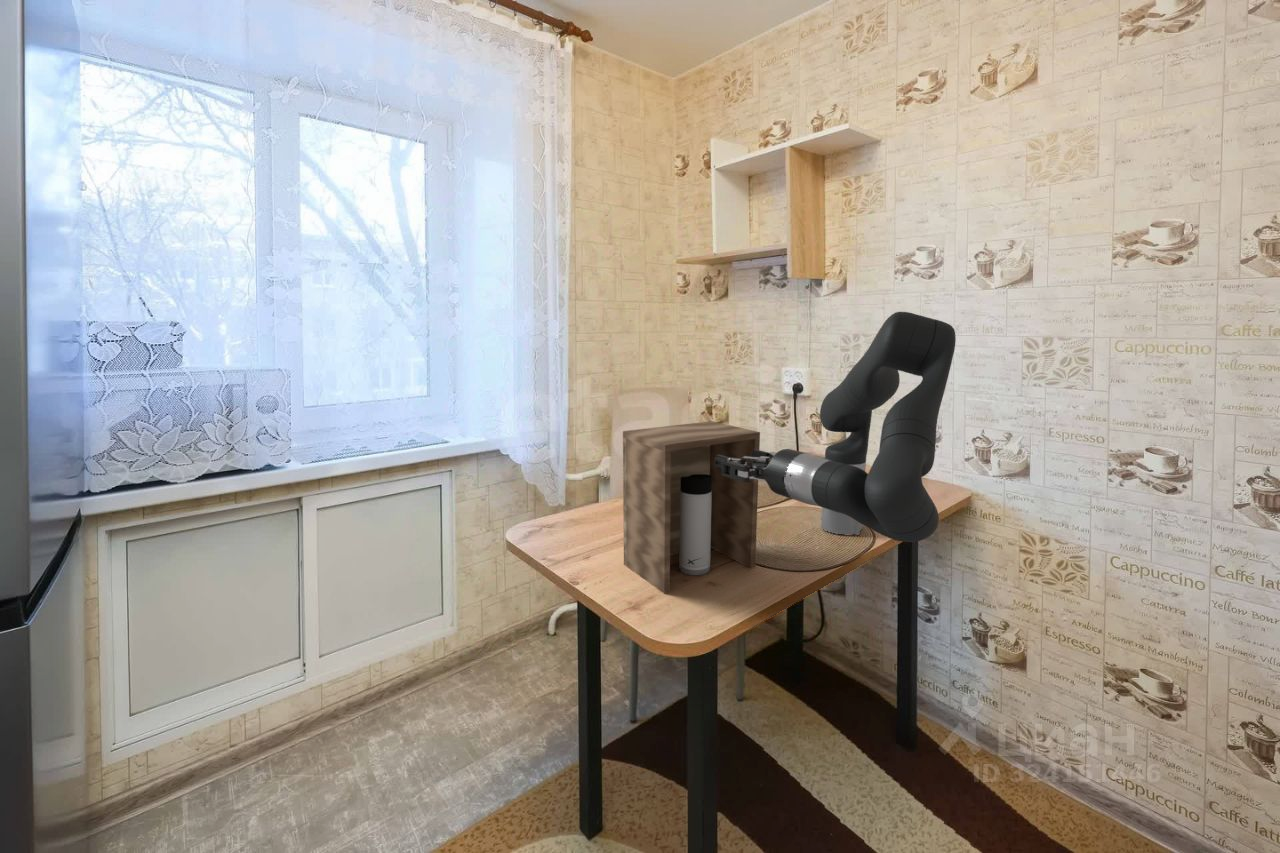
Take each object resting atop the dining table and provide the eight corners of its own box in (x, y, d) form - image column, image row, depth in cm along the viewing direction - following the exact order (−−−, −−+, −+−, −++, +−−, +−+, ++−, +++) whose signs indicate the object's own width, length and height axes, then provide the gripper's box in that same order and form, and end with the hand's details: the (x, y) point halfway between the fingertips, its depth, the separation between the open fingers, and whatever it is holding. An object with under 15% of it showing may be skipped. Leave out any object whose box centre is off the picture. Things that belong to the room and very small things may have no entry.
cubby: (755, 566, 116) (760, 432, 111) (664, 593, 104) (665, 444, 99) (709, 542, 128) (711, 421, 123) (623, 564, 117) (622, 431, 112)
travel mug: (694, 579, 110) (696, 480, 106) (672, 567, 115) (673, 473, 112) (717, 571, 114) (719, 475, 110) (695, 560, 119) (697, 468, 115)
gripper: (836, 448, 90) (765, 433, 103) (771, 459, 83) (703, 441, 96) (834, 494, 91) (763, 473, 105) (769, 508, 84) (702, 483, 97)
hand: (735, 457), depth 100 cm, fingers open, 8 cm apart
